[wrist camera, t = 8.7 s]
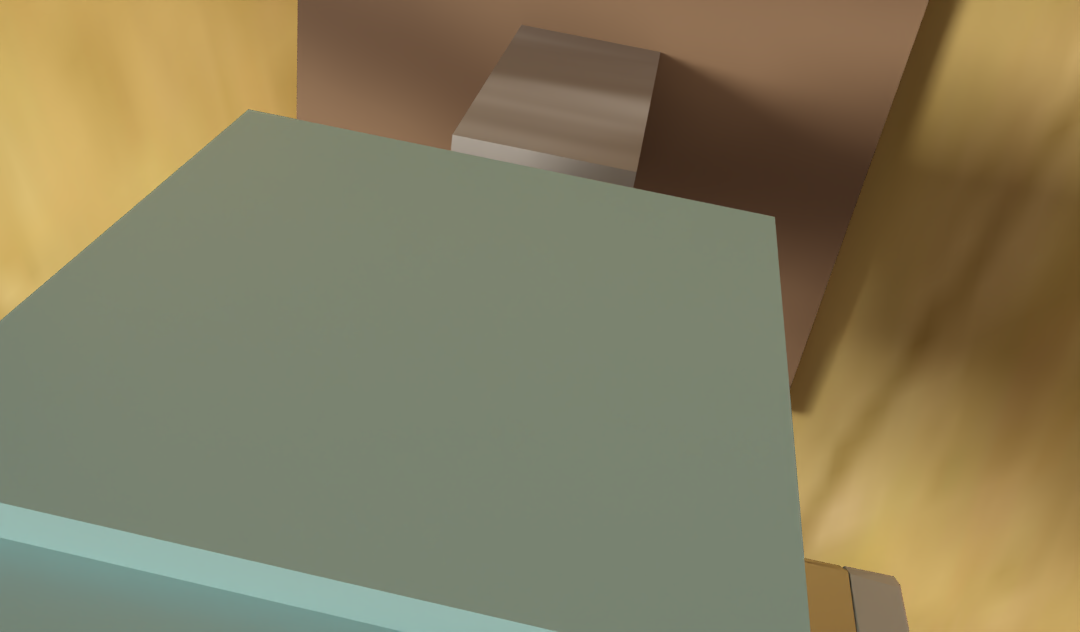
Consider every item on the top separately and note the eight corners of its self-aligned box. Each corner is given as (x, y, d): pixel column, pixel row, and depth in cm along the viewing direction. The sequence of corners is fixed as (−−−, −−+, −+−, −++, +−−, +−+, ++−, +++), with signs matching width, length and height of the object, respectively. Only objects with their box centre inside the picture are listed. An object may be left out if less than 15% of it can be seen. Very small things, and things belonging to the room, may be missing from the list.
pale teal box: (222, 103, 11) (-305, 524, 5) (803, 222, 10) (884, 806, 5) (235, 523, 14) (-77, 1041, 9) (672, 622, 14) (634, 1230, 8)
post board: (321, -350, 18) (127, -368, 12) (996, -232, 17) (1128, -191, 11) (309, 303, 25) (187, 479, 20) (774, 402, 25) (786, 616, 19)
